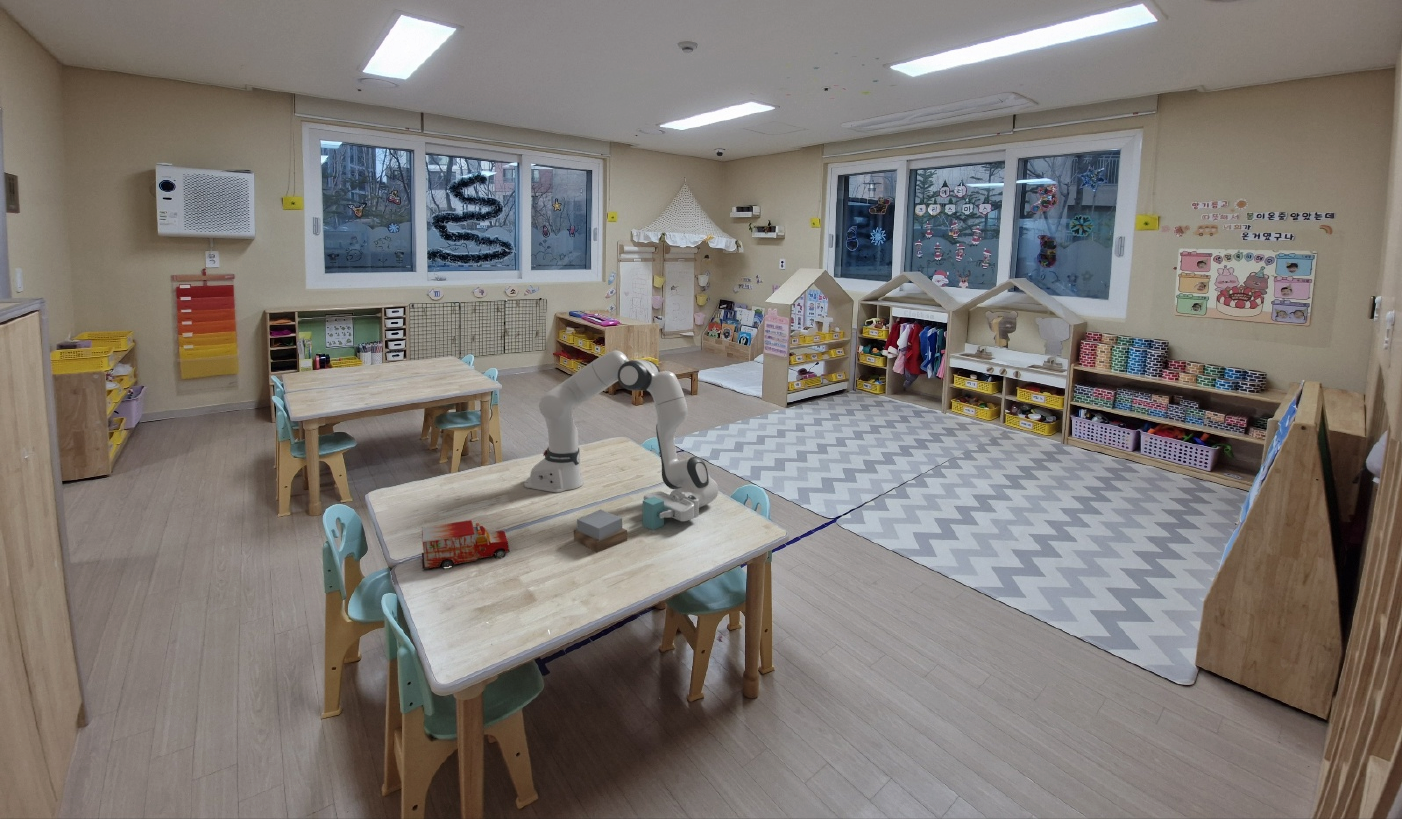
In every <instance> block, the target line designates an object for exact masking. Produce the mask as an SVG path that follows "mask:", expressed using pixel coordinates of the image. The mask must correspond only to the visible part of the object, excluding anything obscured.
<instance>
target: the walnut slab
mask: <svg viewBox="0 0 1402 819" xmlns="http://www.w3.org/2000/svg"><path fill="white" fill-rule="evenodd" d="M573 540H574V541H575V542H577V543H579V544H580V545H582V546H585V547H586V548H588V549H590V550H591V551H593V552H595V553H600V552H602V551H605V550H607V549H609V548H611V547H614V546H617V545H619V544H622V543H624V542H627V541H628V530H627V529H625V528H623V527H622V530H620V531H618V532H616V533H614V534H612V535H610V536H608V537H605V538H603V539H601V540H597V539H595V538H593V537H590V536H588V535H586V534H583V533H581V532H579V531H577V528H575V529H573Z"/></svg>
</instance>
